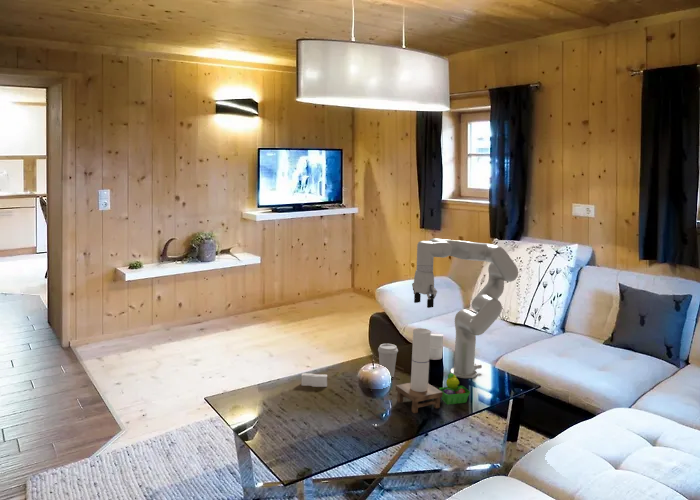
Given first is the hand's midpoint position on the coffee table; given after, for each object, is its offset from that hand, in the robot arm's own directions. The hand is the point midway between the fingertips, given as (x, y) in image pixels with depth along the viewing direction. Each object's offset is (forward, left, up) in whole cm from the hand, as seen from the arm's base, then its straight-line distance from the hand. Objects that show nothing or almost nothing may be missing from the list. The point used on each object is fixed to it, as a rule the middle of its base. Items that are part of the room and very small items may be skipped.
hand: (423, 304), depth 262 cm
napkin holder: (+48, -15, -37) cm, 62 cm away
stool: (+16, +23, -36) cm, 46 cm away
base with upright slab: (-25, -23, -36) cm, 50 cm away
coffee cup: (+12, -9, -36) cm, 39 cm away
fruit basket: (0, +26, -36) cm, 44 cm away
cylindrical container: (+16, +22, -29) cm, 40 cm away
